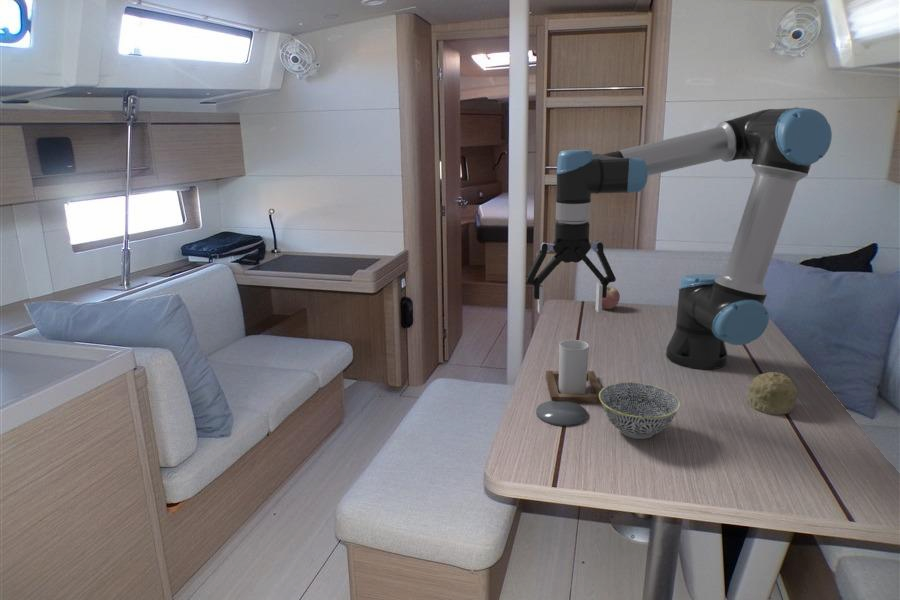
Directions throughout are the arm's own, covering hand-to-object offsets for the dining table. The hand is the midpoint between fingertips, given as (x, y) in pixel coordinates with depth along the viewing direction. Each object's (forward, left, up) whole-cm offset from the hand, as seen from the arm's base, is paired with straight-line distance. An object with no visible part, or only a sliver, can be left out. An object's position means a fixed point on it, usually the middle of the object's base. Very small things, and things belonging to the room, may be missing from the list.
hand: (569, 311), depth 140 cm
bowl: (-12, +21, -20) cm, 31 cm away
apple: (-22, -64, -20) cm, 70 cm away
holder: (-2, +1, -19) cm, 19 cm away
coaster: (+3, +14, -19) cm, 24 cm away
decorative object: (-44, +9, -20) cm, 49 cm away
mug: (-2, +1, -19) cm, 19 cm away
